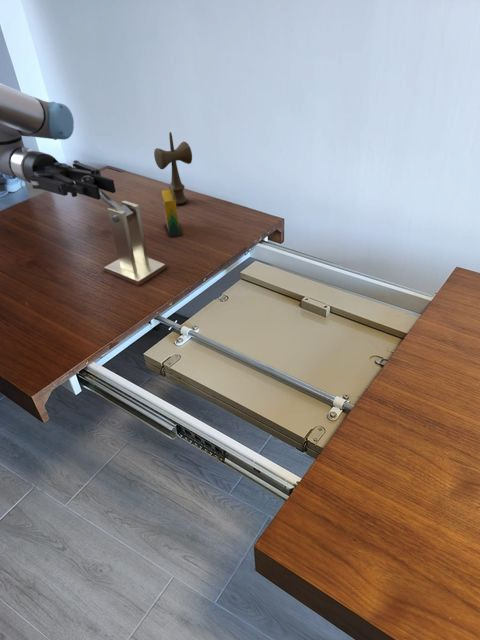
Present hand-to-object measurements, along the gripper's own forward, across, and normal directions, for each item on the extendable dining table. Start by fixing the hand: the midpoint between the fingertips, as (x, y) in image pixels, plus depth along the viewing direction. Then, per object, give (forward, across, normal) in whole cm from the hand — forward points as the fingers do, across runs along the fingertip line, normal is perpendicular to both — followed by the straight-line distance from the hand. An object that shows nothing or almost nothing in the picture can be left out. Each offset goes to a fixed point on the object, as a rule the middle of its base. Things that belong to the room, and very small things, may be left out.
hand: (105, 189), depth 102 cm
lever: (-1, 0, +4) cm, 4 cm away
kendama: (-12, +35, +19) cm, 42 cm away
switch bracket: (+5, 0, +18) cm, 19 cm away
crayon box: (-2, +20, +19) cm, 28 cm away
